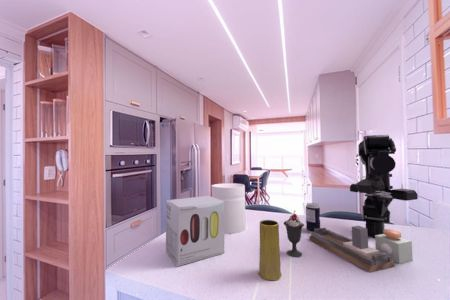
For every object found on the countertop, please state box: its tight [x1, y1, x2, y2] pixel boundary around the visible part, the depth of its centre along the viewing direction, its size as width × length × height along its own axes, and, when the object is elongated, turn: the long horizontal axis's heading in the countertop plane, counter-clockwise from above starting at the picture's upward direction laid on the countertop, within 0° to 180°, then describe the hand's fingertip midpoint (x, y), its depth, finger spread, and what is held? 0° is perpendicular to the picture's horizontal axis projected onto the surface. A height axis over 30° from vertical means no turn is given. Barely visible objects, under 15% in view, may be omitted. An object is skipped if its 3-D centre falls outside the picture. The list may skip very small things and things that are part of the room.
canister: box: [211, 182, 246, 235], centre depth 94 cm, size 16×16×20 cm
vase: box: [258, 219, 282, 281], centre depth 56 cm, size 6×6×14 cm
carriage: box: [343, 225, 379, 259], centre depth 64 cm, size 5×8×8 cm, turn 17°
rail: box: [309, 227, 395, 273], centre depth 69 cm, size 10×24×4 cm, turn 17°
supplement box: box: [165, 195, 225, 268], centre depth 70 cm, size 17×13×18 cm
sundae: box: [283, 210, 305, 258], centre depth 67 cm, size 7×7×15 cm
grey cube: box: [374, 234, 414, 265], centre depth 64 cm, size 6×7×6 cm
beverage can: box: [305, 202, 321, 233], centre depth 88 cm, size 6×6×12 cm
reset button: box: [384, 228, 402, 241], centre depth 65 cm, size 4×4×5 cm
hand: (380, 215), depth 69 cm, fingers closed
